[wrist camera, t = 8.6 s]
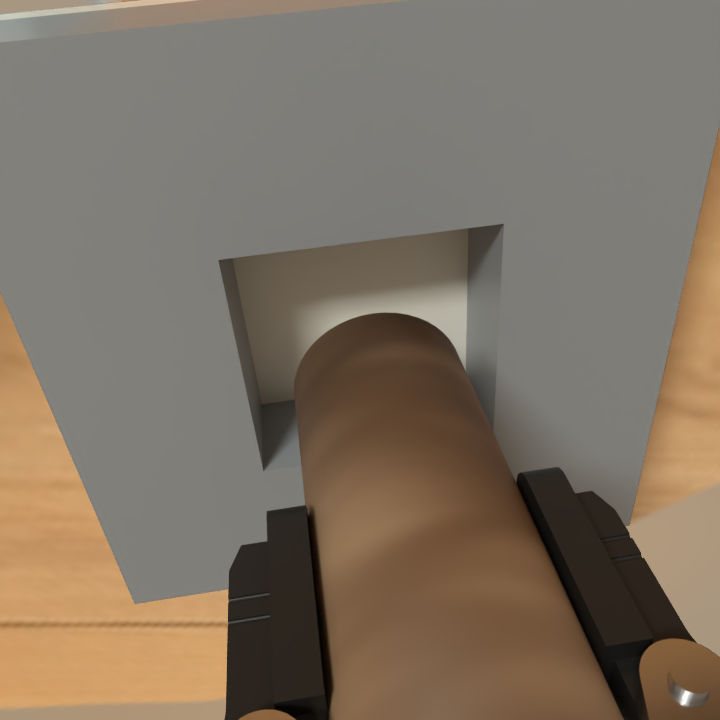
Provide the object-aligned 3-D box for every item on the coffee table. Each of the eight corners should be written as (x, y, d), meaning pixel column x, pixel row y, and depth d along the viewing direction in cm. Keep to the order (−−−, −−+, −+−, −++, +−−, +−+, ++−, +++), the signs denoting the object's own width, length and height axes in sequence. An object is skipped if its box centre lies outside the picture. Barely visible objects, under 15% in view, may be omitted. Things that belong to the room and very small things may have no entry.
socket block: (655, -52, 16) (756, -36, 13) (580, 444, 26) (629, 525, 22) (-29, 17, 15) (-103, 53, 12) (149, 508, 25) (134, 603, 21)
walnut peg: (462, 301, 15) (850, 1044, 5) (460, 436, 18) (730, 1128, 8) (282, 325, 15) (356, 1154, 5) (305, 459, 17) (383, 1208, 8)
